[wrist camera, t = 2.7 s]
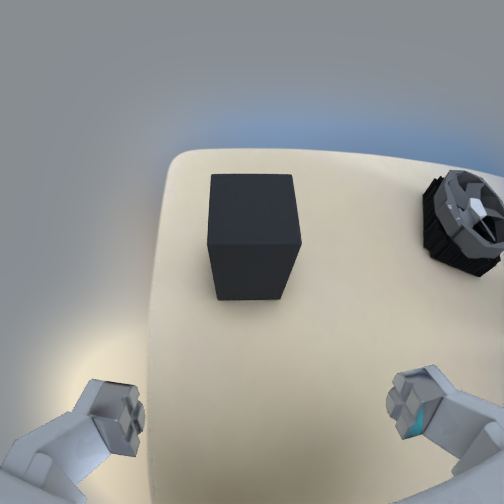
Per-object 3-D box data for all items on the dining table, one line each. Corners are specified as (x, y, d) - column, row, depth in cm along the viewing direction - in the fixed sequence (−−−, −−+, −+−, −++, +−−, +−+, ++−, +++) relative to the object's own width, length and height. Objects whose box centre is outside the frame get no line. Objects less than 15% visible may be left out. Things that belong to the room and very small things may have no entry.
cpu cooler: (504, 189, 24) (519, 263, 20) (480, 216, 29) (487, 286, 25) (438, 153, 26) (447, 227, 21) (417, 186, 31) (417, 257, 26)
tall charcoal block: (280, 299, 24) (302, 243, 16) (217, 300, 23) (206, 244, 15) (276, 244, 26) (292, 174, 18) (218, 245, 26) (211, 173, 18)
